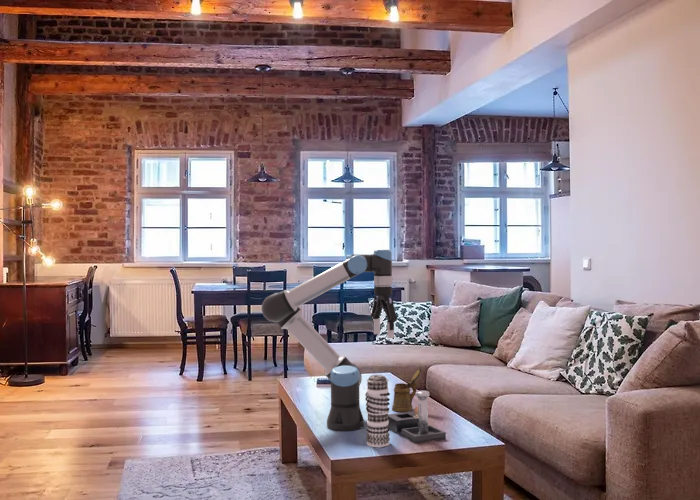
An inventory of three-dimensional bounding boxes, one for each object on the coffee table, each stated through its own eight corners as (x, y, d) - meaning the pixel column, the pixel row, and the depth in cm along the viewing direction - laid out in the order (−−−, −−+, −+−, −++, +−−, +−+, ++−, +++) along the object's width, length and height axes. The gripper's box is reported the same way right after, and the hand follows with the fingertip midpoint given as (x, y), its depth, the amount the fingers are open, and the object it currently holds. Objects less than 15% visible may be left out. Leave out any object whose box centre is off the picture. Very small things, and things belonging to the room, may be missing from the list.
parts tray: (415, 443, 240) (415, 436, 240) (401, 435, 250) (401, 429, 250) (445, 439, 245) (445, 432, 245) (431, 431, 255) (431, 425, 255)
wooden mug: (424, 411, 286) (423, 370, 286) (393, 412, 285) (393, 371, 285) (420, 406, 295) (419, 366, 295) (390, 407, 293) (390, 367, 293)
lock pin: (420, 437, 244) (419, 394, 244) (414, 434, 249) (413, 391, 248) (432, 435, 246) (431, 392, 246) (426, 432, 251) (424, 389, 251)
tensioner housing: (396, 433, 253) (396, 413, 253) (385, 427, 262) (385, 407, 262) (430, 429, 258) (430, 409, 258) (418, 422, 267) (417, 403, 267)
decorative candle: (389, 439, 245) (388, 373, 245) (391, 447, 236) (391, 378, 235) (365, 440, 245) (364, 373, 244) (366, 447, 235) (365, 378, 235)
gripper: (404, 287, 266) (405, 339, 266) (378, 284, 289) (379, 331, 289) (388, 287, 263) (388, 340, 263) (363, 284, 286) (363, 332, 286)
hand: (383, 335), depth 276 cm, fingers open, 13 cm apart
